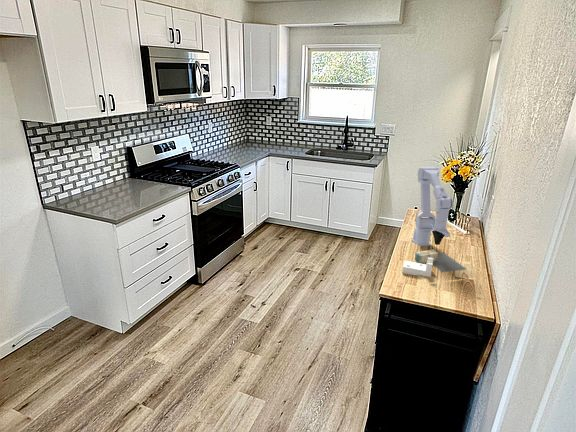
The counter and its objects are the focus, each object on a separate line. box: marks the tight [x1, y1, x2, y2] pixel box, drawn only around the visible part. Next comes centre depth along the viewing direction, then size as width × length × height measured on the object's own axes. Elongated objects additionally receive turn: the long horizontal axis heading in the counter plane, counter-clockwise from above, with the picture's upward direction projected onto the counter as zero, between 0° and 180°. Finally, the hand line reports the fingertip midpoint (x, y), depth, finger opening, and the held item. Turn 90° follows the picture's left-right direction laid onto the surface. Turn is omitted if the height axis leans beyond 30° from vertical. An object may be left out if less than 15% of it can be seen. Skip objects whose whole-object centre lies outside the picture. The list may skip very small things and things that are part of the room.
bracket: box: [401, 257, 434, 278], centre depth 180 cm, size 13×7×8 cm, turn 66°
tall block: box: [414, 249, 439, 264], centre depth 191 cm, size 4×4×10 cm
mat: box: [432, 252, 467, 273], centre depth 191 cm, size 19×14×1 cm
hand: (437, 244), depth 195 cm, fingers closed
